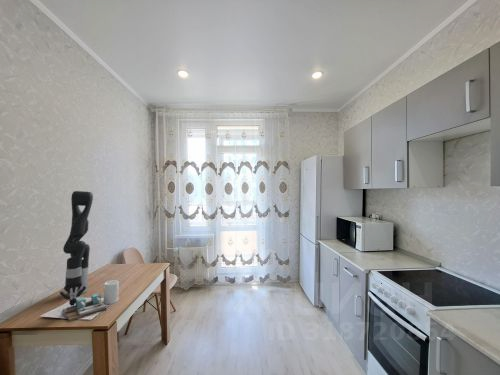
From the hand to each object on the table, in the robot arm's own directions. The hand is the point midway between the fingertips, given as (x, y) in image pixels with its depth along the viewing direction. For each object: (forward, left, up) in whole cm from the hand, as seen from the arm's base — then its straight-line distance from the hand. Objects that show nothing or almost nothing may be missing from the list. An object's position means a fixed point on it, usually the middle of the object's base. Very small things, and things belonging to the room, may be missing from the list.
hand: (72, 305), depth 136 cm
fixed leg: (+3, +12, -3) cm, 13 cm away
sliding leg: (+3, +4, -3) cm, 6 cm away
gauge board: (+3, +6, -4) cm, 8 cm away
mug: (-1, +22, -4) cm, 22 cm away
